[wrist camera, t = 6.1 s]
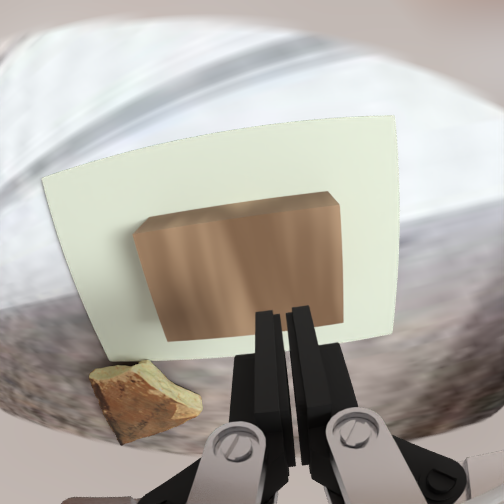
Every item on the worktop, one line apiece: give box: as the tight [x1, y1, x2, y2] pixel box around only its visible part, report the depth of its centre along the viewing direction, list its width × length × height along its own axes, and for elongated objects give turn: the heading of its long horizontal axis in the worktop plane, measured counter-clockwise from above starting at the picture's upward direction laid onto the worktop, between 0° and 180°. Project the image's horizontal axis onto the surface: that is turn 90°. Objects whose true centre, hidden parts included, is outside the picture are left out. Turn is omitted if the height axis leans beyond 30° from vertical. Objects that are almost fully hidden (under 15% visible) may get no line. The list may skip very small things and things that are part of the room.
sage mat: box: [42, 115, 399, 361], centre depth 17 cm, size 19×13×1 cm
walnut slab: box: [132, 191, 344, 342], centre depth 16 cm, size 2×6×9 cm
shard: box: [89, 360, 203, 446], centre depth 21 cm, size 11×8×2 cm
